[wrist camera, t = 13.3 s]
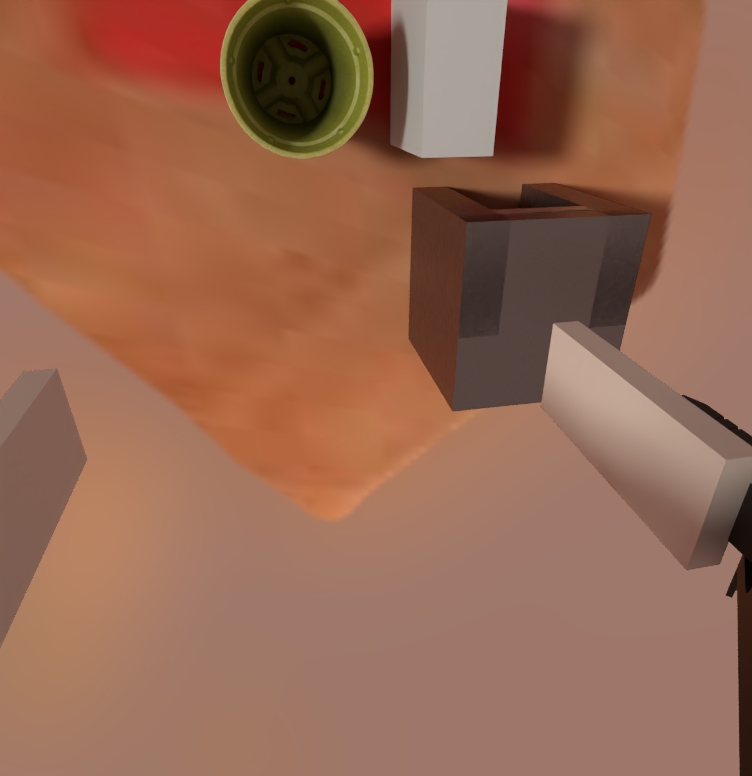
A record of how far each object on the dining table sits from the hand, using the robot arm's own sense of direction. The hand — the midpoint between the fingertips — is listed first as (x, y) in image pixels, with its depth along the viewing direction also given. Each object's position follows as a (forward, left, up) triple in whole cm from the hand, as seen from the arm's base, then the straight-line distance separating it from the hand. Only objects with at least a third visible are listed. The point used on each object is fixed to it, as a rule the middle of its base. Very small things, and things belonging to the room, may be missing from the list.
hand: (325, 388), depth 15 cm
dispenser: (+7, +18, -35) cm, 40 cm away
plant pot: (-8, +1, -35) cm, 36 cm away
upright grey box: (-8, +12, -35) cm, 38 cm away
